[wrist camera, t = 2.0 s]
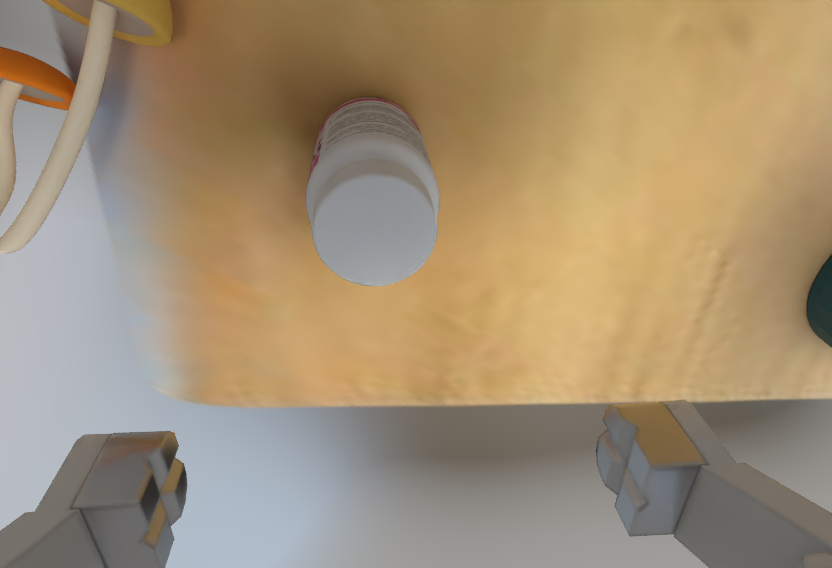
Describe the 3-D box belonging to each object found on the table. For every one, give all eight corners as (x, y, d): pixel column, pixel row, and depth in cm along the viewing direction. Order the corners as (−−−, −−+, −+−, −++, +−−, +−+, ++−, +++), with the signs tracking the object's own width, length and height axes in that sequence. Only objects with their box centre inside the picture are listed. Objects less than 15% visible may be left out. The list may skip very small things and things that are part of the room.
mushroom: (75, 271, 24) (143, -51, 25) (143, 274, 18) (225, -140, 20) (-172, 229, 19) (-67, -172, 20) (-184, 215, 13) (-37, -339, 15)
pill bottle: (299, 113, 24) (274, 185, 16) (407, 81, 23) (430, 139, 16) (336, 212, 26) (329, 312, 19) (434, 184, 26) (464, 275, 19)
